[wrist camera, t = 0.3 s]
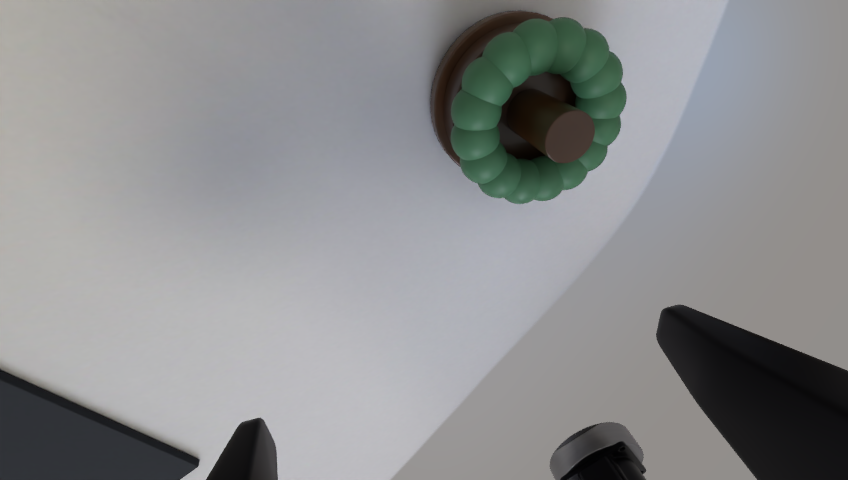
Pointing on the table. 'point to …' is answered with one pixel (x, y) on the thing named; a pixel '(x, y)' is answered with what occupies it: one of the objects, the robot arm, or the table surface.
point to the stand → (514, 100)
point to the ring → (511, 66)
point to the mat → (75, 442)
